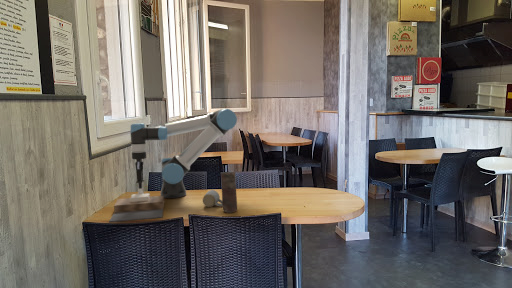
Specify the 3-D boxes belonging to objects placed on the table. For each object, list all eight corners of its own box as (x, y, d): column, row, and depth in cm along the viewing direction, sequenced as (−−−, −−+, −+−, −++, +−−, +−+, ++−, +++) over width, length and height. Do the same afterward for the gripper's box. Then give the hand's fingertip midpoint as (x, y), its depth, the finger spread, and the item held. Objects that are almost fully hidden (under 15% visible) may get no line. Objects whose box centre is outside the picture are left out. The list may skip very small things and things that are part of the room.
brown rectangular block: (219, 211, 182) (217, 172, 180) (230, 208, 187) (229, 170, 185) (229, 214, 176) (227, 173, 174) (240, 210, 181) (239, 171, 180)
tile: (149, 197, 199) (149, 193, 199) (148, 200, 191) (148, 196, 191) (132, 198, 197) (132, 194, 197) (130, 202, 189) (130, 197, 189)
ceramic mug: (202, 207, 190) (201, 193, 189) (206, 203, 198) (206, 189, 197) (221, 208, 188) (221, 193, 187) (225, 204, 196) (225, 190, 195)
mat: (163, 209, 187) (163, 208, 187) (162, 217, 174) (162, 216, 174) (114, 213, 182) (114, 212, 182) (109, 222, 169) (109, 221, 169)
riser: (164, 202, 202) (163, 195, 202) (163, 209, 188) (162, 201, 188) (118, 206, 197) (118, 199, 196) (114, 213, 183) (113, 205, 183)
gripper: (133, 150, 204) (135, 191, 206) (129, 153, 191) (132, 197, 194) (147, 150, 206) (149, 190, 208) (144, 152, 193) (146, 196, 195)
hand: (140, 193), depth 201 cm, fingers closed
